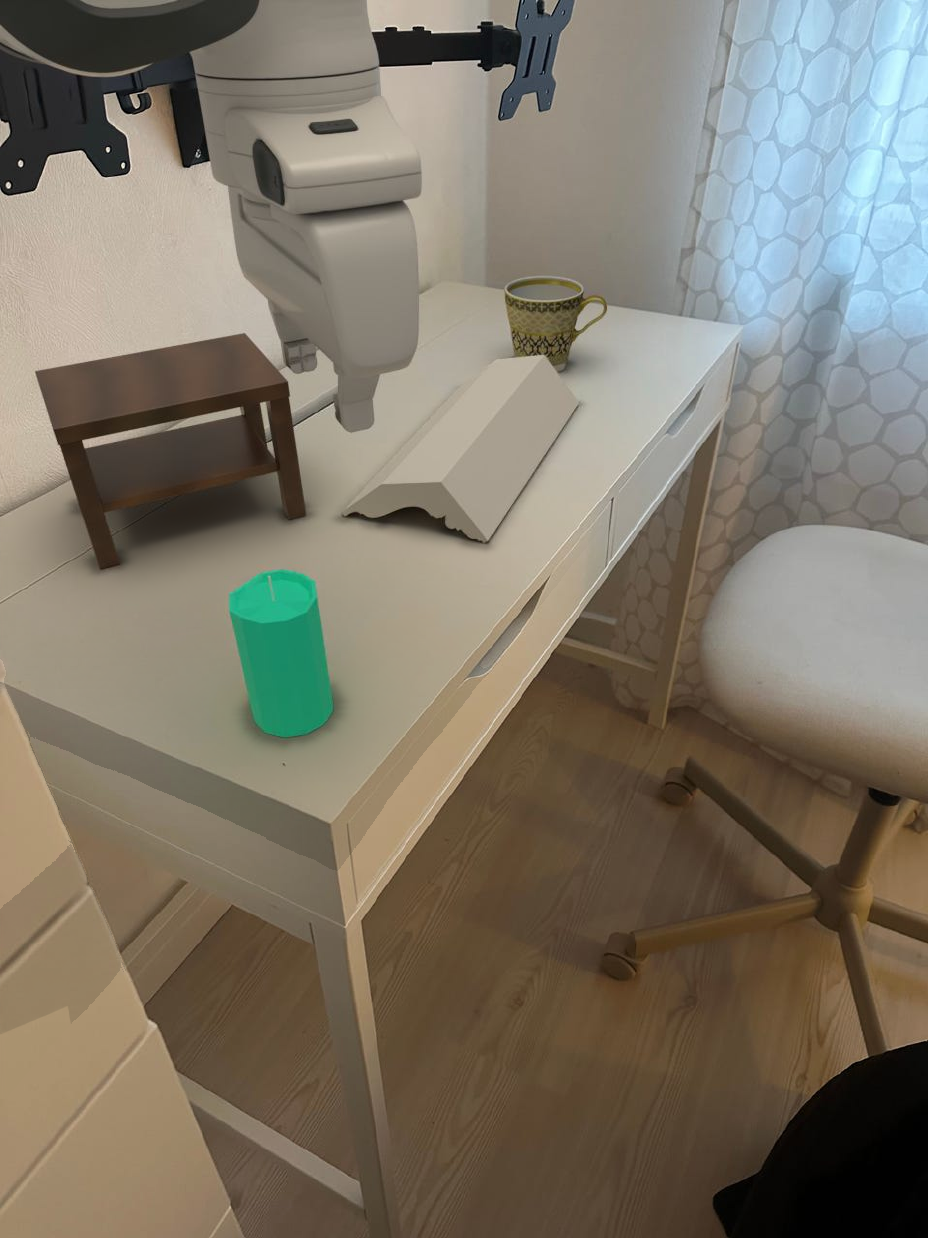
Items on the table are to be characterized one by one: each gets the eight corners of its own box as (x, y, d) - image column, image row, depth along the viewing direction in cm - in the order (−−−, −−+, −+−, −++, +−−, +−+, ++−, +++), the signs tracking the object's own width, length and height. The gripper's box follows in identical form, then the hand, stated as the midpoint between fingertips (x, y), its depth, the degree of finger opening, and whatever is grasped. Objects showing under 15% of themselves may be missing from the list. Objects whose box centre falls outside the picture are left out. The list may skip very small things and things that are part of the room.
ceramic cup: (496, 376, 115) (496, 298, 109) (511, 348, 123) (512, 273, 117) (597, 384, 112) (603, 304, 106) (606, 355, 120) (612, 278, 114)
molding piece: (508, 448, 115) (460, 385, 112) (579, 402, 107) (529, 334, 105) (406, 587, 91) (341, 512, 88) (488, 540, 83) (420, 456, 81)
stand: (99, 570, 81) (53, 429, 73) (77, 502, 91) (34, 370, 83) (307, 516, 88) (288, 380, 80) (266, 458, 98) (245, 332, 90)
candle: (319, 673, 70) (298, 542, 62) (345, 721, 65) (327, 587, 58) (243, 697, 68) (213, 565, 60) (265, 748, 63) (236, 613, 56)
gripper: (186, 113, 51) (229, 348, 60) (300, 180, 37) (335, 479, 45) (291, 103, 53) (318, 332, 62) (438, 163, 39) (447, 451, 47)
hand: (326, 395), depth 53 cm, fingers open, 8 cm apart
